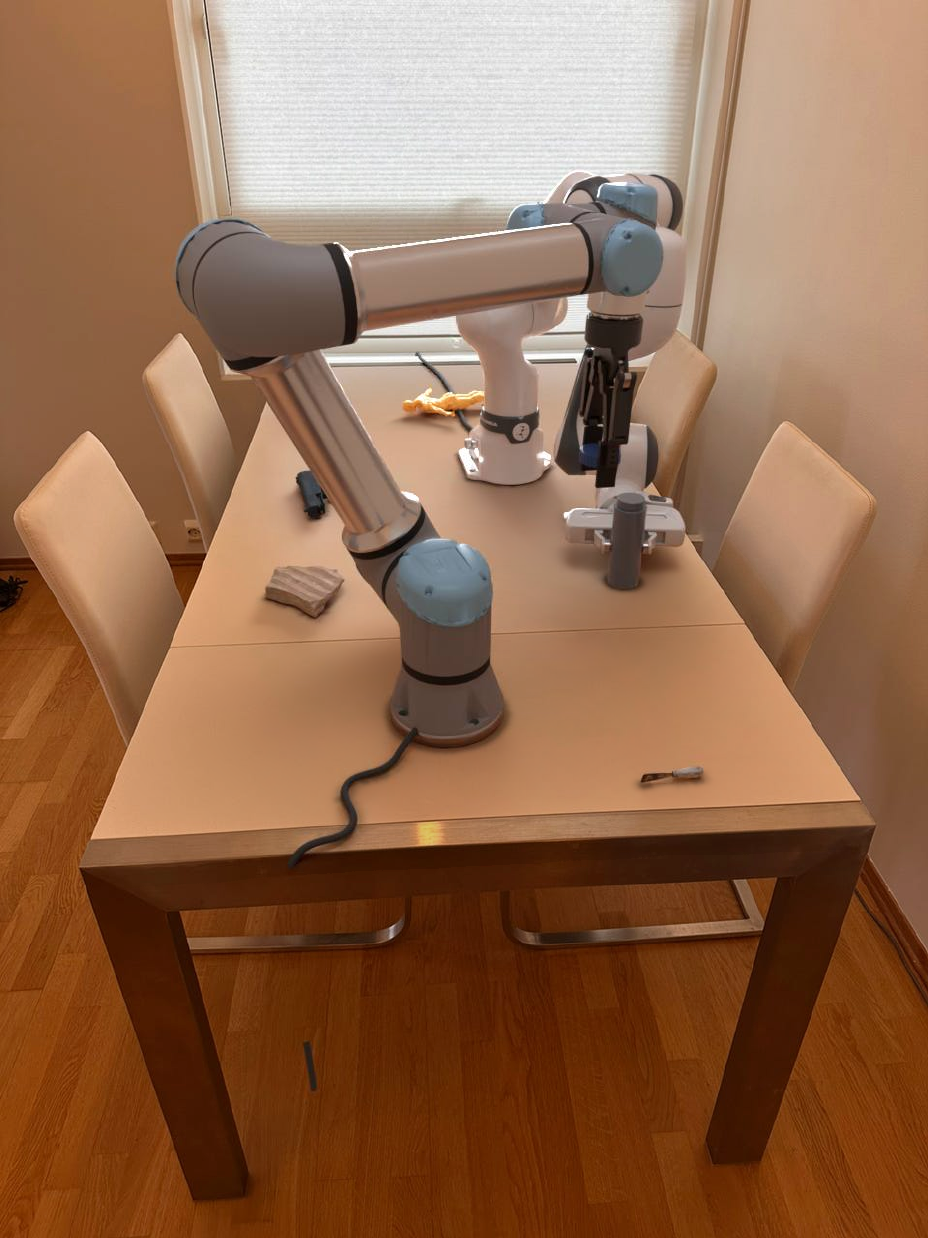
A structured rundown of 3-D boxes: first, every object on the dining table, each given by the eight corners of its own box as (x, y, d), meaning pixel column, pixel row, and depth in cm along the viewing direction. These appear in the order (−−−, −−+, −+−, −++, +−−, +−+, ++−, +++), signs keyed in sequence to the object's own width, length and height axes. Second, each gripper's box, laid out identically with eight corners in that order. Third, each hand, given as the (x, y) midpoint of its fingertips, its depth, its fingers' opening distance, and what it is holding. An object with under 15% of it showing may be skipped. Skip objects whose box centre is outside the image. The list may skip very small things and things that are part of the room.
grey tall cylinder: (644, 580, 151) (654, 496, 143) (627, 592, 148) (637, 507, 140) (617, 570, 154) (625, 488, 146) (600, 582, 151) (608, 498, 143)
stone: (354, 583, 150) (352, 570, 149) (317, 618, 141) (316, 605, 140) (288, 570, 155) (286, 557, 153) (249, 603, 145) (246, 590, 144)
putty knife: (703, 777, 109) (705, 767, 109) (642, 788, 108) (644, 777, 107) (700, 772, 110) (702, 762, 109) (639, 782, 109) (640, 771, 108)
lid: (574, 465, 126) (576, 454, 126) (582, 451, 131) (583, 440, 130) (616, 471, 125) (618, 459, 124) (622, 456, 130) (623, 445, 129)
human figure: (395, 413, 223) (394, 398, 221) (438, 390, 237) (438, 375, 235) (462, 429, 215) (462, 413, 213) (502, 404, 229) (503, 388, 227)
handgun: (366, 513, 175) (304, 520, 172) (351, 478, 189) (294, 484, 186) (365, 498, 173) (303, 505, 170) (350, 463, 187) (293, 470, 184)
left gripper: (671, 329, 110) (646, 502, 122) (616, 297, 126) (598, 453, 138) (614, 331, 109) (594, 505, 121) (565, 298, 125) (552, 456, 137)
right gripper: (564, 495, 158) (564, 529, 146) (681, 498, 156) (691, 534, 144) (562, 527, 161) (562, 563, 149) (676, 531, 159) (686, 568, 148)
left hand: (596, 477), depth 129 cm, fingers closed on lid, 6 cm apart
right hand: (626, 549), depth 147 cm, fingers closed on grey tall cylinder, 5 cm apart
